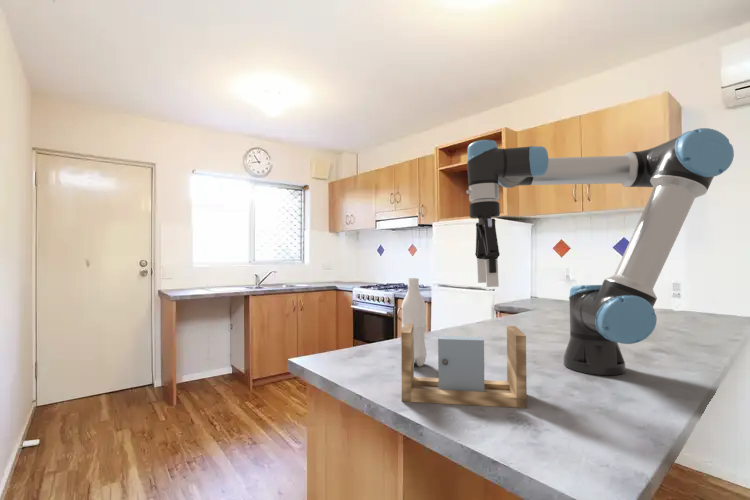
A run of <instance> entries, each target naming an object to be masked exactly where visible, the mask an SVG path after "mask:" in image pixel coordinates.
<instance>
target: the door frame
mask: <svg viewBox="0 0 750 500" xmlns="http://www.w3.org/2000/svg"><path fill="white" fill-rule="evenodd" d="M400 336H401V402H406V403H407V402H408V403H422V404H423V403H424V404H425V403H427V404H441V405H442V404H445V405H461V406H462V405H465V406H481V407H500V408H501V407H502V408H503V407H504V408H515V409H516V408H519V409H520V408H521V409H527V407H528V406H527V403H528V402H527V401H528V400H527V399H528V398H527V393H528V392H527V390H528V389H527V335H526V334H525V333H524V332H522V330H520V328H518V327H517V325H506V374H507V375H506V379H507V380H493V379H492V380H491V379H484V392H477V391H456V390H439V387H438V377H425V376H424V377H423V376H422V377H421V376H415V368H414V365H415V364H414V324H405V326H404V328H403V330H402V329H401V335H400Z"/></svg>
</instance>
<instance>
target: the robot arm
mask: <svg viewBox="0 0 750 500" xmlns="http://www.w3.org/2000/svg"><path fill="white" fill-rule="evenodd" d="M733 146H734V145H732V143H731V142H730V140H729V138H728V137H727V136H726V135H725V134H724V133H722V132H721V131H719V130H716V129H714V128H706V127H704V128H696V129H693V130H688V131H686V132H683V133H682V134H680V135H679V136H677V137H675V138H673V139H670V140H668V141H666V142H664V143H661V144H659V145H657V146H654V147H650V148H648V149H644V150H638V151H628V152H625V154H623V155H607V156H606V155H605V156H577V157H575V156H574V157H572V156H569V157H549V152H548V151H547V148H546V147H545V146H543V145H541V146H539V145H538V146H537V145H536V146H535V145H534V146H533V145H530V146H520V147H508V148H501V147H500V148H498V144H497V141H495V140H493V139H480V140H476V141H473V142H472V143H470V144H469V145H468V146H467V151H466V152H467V153H466V155H467V158H466V159H467V161H466V165H467V181H468V189H467V190H466V194H467V195H468V201H469V203H470V204H469V206H468V209H469V217H470V218H471V219H476V220H477V219H478V222H476V223H475V230H476V231H475V232H476V233H475V254H474V255H475V257H476V265H477V266H476V268H477V283H478V284H479V283H480V284H482V283H485V284H486V288H497V287H499V286H500V285H499V284H500V283H499V264H498V263H499V262H498V259H499V257H500V249H499V243H498V237H497V236H498V235H497V229H496V218H497V217H500V215H501V214H500V213H501V211H500V209H501V207H500V201H498V200H500V186H501V187H503V188H506V189H509V188H515V187H517V186H539V185H540V186H542V185H543V186H545V185H546V186H549V185H551V186H552V185H553V186H554V185H555V186H556V185H557V186H558V185H559V186H560V185H597V184H598V185H599V184H600V185H602V184H603V185H605V184H607V185H608V184H613V185H614V184H621V185H622V186H623V187H625V188H653V189H652V192H651V194H650V197H649V198H648V201H647V203H646V205H645V207H644V209H643V212H642V214H641V216H640V218H639V220H638V222H637V225H636V227H635V229H634V231H633V233H632V236H631V238H630V240H629V242H628V244H627V247H626V249H625V251H624V252H623V255H622V257H621V259H620V262H619V263H618V266H617V268H616V270H615V272H614V274H613V275H611V276H610V277H607V278H604V280H603V282H602V283H601V284H585V285H582V284H581V285H574V286H573V285H572V287H571V288H570V290H569V296H568V299H569V341H568V342H567V346H566V349H565V352H564V354H563V366H564V367H566V368H567V369H570V370H573V371H577V372H579V373H584V374H590V375H597V376H618V375H623V374H624V373H626V362H625V359H624V357H623V353H622V351H621V349H620V346H619V344H625V345H632V344H637V343H640V342H642V341H644V340H645V339H647V338H648V337H650V336H651V335H652V333H653V331H654V330H655V328H656V325H657V320H658V319H657V314H656V312H655V309H654V306H655V304H656V302H657V299H658V297H657V295H656V294H655V292H654V288H655V285H656V283H657V281H658V280H659V276H660V274H661V273H662V270H663V268H664V266H665V264H666V262H667V260H668V257H669V255H670V253H671V251H672V248H673V247H674V245H675V242H676V241H677V238H678V235H680V231H681V230H682V227H683V225H684V223H685V221H686V219H687V216H688V214H689V212H690V209H691V208H692V206H693V203H694V202H695V199H696V198H699V197H702V196H704V195H706V194H707V192H708V189H709V188H710V186H711V184H712V181H713V180H714V178H715V177H717V176H720V175H721V174H723V173H725V172H726V171H727V170H728V169H729V168H730V167H731V165H732V164H733V161H734V157H735V152H734V151H735V150H734V147H733Z"/></svg>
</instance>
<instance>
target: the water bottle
mask: <svg viewBox="0 0 750 500" xmlns="http://www.w3.org/2000/svg"><path fill="white" fill-rule="evenodd" d="M419 280H420V279H419V278H418V277H417V278H416V277H411V278H408V283H407V292H406V295H405V296H404V298H403V301H402V303H401V307H400V308H401V331H402V330H403V328H404V326H405V324H414V365H415V364H416V366H417V367H419V368H420V367H423V365H424V364H425V361H426V359H427V348H426V342H425V338H426V337H425V335H426V328H427V324H426V323H427V319H426V314H427V312H426V311H427V310H426V309H427V304H426V301H425V300H424V298H423V296H422V294H421V292H420V283H419Z"/></svg>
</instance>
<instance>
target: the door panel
mask: <svg viewBox="0 0 750 500" xmlns="http://www.w3.org/2000/svg"><path fill="white" fill-rule="evenodd" d="M437 337H438V338H437V342H438V343H437V349H438V351H437V352H438V353H437V355H438V356H437V357H438V358H437V359H438V360H437V363H438V372H437V373H438V374H437V375H438V376H437V378H438V387H439V390H456V391H477V392H484V380H485V340H484V337H482V336H462V335H461V336H460V335H459V336H458V335H438V336H437Z"/></svg>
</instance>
